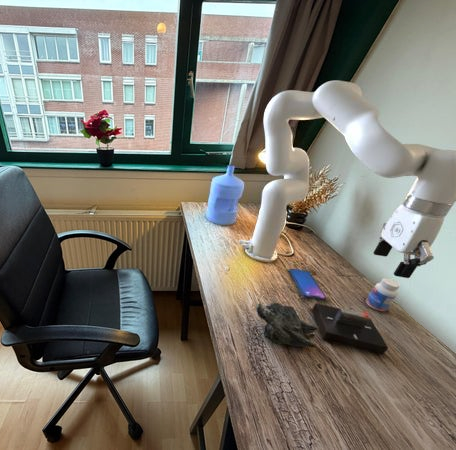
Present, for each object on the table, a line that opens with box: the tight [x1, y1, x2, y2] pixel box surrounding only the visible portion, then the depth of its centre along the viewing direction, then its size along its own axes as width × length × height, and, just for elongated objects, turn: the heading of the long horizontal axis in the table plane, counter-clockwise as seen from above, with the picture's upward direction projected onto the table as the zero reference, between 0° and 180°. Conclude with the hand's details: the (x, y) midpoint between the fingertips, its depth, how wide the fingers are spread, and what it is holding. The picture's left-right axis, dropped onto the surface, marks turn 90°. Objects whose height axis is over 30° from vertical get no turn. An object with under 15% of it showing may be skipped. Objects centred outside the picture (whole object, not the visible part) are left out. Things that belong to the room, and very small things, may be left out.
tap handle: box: [335, 307, 371, 328], centre depth 67 cm, size 6×2×4 cm, turn 74°
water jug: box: [205, 164, 245, 226], centre depth 123 cm, size 16×16×28 cm
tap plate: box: [311, 302, 389, 356], centre depth 69 cm, size 14×11×3 cm
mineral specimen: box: [255, 301, 319, 349], centre depth 66 cm, size 15×13×10 cm
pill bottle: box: [365, 277, 401, 312], centre depth 77 cm, size 6×5×10 cm
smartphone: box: [288, 268, 327, 301], centre depth 86 cm, size 7×1×15 cm
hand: (389, 265), depth 65 cm, fingers open, 9 cm apart
